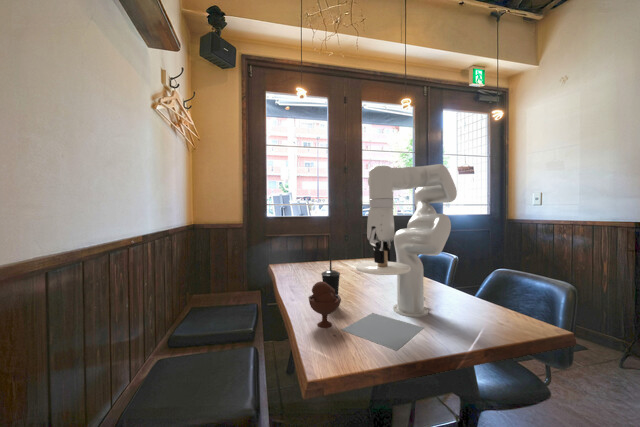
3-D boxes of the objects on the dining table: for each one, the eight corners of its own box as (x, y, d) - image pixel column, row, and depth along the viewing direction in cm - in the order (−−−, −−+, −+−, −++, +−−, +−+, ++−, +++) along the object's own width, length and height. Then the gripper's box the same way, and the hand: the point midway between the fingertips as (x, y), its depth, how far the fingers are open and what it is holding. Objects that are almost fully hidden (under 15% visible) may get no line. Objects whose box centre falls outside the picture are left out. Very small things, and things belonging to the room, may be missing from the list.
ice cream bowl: (339, 334, 80) (338, 286, 80) (304, 331, 82) (304, 284, 82) (343, 320, 90) (342, 277, 90) (312, 318, 92) (311, 276, 92)
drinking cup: (322, 303, 108) (322, 255, 108) (340, 304, 107) (340, 256, 107) (320, 310, 100) (320, 259, 101) (340, 310, 100) (339, 259, 100)
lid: (373, 261, 95) (373, 246, 95) (419, 267, 83) (418, 249, 83) (345, 269, 82) (345, 251, 82) (395, 278, 71) (394, 257, 71)
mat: (372, 314, 96) (372, 312, 96) (424, 329, 83) (424, 327, 83) (341, 331, 82) (341, 329, 82) (396, 352, 69) (396, 350, 69)
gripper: (383, 205, 91) (384, 257, 92) (357, 205, 79) (358, 264, 79) (403, 204, 86) (404, 259, 86) (378, 204, 74) (379, 267, 74)
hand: (382, 261), depth 83 cm, fingers closed on lid, 3 cm apart
